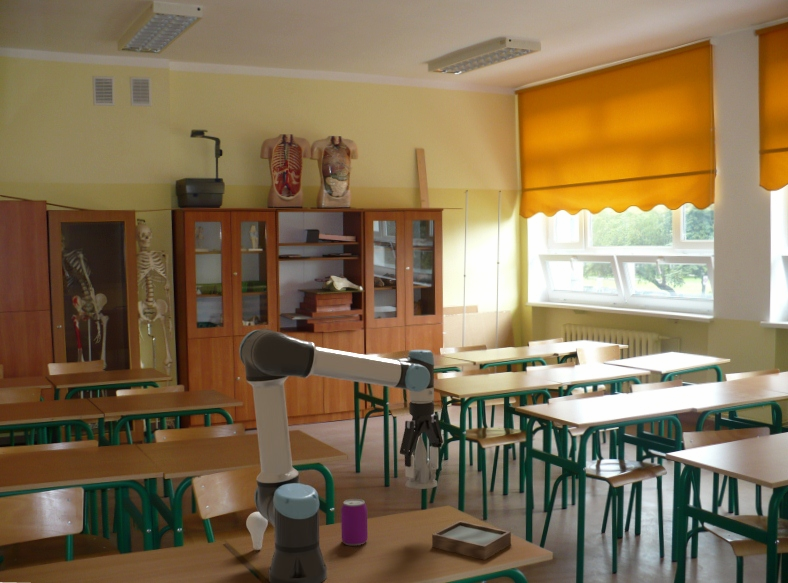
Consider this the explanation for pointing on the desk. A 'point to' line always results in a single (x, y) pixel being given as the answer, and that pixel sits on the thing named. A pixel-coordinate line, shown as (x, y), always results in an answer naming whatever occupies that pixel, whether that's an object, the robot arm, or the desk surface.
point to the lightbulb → (256, 528)
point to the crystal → (421, 469)
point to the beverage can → (354, 522)
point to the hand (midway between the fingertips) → (422, 472)
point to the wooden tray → (471, 539)
